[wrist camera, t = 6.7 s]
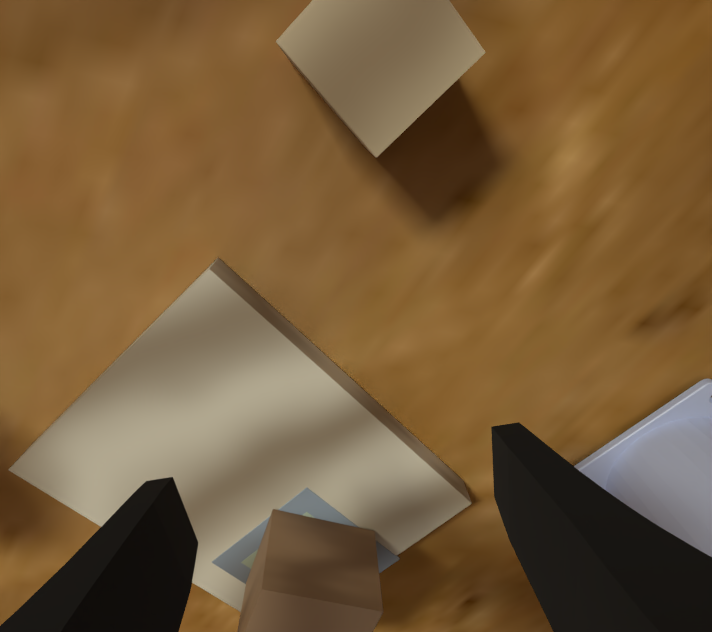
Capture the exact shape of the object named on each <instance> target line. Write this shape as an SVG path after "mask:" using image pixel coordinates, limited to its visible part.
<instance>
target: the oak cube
mask: <svg viewBox="0 0 712 632" xmlns="http://www.w3.org/2000/svg"><path fill="white" fill-rule="evenodd" d="M276 42H277V44H278V45H279V47H280V48H281V49H282V51H283V52H284V54H285V55H286V56H287V58H288V59H289V60H290V61H291V62H292V64H293V65H294V66H295V67H296V68H297V69H298V71H299V72H300V73H301V74H302V75H303V76H304V78H305V79H306V80H307V81H308V82H309V83H310V84H311V86H312V87H313V88H314V89H315V90H316V91H317V93H318V94H319V95H320V96H321V97H322V98H323V99H324V101H325V102H326V103H327V104H328V105H329V106H330V108H331V109H332V110H333V111H334V112H335V113H336V115H337V116H338V117H339V118H340V119H341V120H342V121H343V123H344V124H345V125H346V126H347V127H348V128H349V130H350V131H351V132H352V133H353V134H354V135H355V136H356V138H357V139H358V140H359V141H360V142H361V143H362V145H363V146H364V147H365V148H366V149H367V150H368V151H369V152H370V153H371V154H372V155H374V156H375V157H376V158H377V157H378V156H379V155H380V154H381V153H382V152H383V151H384V150H385V149H386V148H387V147H388V146H389V145H390V144H391V143H392V142H393V141H394V140H395V139H396V138H397V137H398V136H400V135H401V134H402V133H403V132H404V131H405V130H406V129H407V128H408V127H409V126H410V125H411V124H412V123H413V122H414V121H415V120H416V119H417V118H418V117H419V116H420V115H421V114H422V113H423V112H424V111H425V110H426V109H428V108H429V107H430V106H431V105H432V104H433V103H434V102H435V101H436V100H437V99H438V98H439V97H440V96H441V95H442V94H443V93H444V92H445V91H446V90H447V89H448V88H449V87H450V86H451V85H452V84H453V83H454V82H456V81H457V80H458V79H459V78H460V77H461V76H462V75H463V74H464V73H465V72H466V71H467V70H468V69H469V68H470V67H471V66H472V65H473V64H474V63H475V62H476V61H477V60H478V59H479V58H480V57H481V56H482V55H484V54H485V53H486V52H485V51H484V49H483V48H482V47H481V45H480V44H479V42H478V41H477V39H476V38H475V37H474V35H473V34H472V32H471V31H470V29H469V28H468V27H467V25H466V24H465V22H464V21H463V19H462V18H461V17H460V15H459V14H458V12H457V11H456V9H455V8H454V7H453V5H452V4H451V2H450V1H449V0H313V1H312V2H311V3H310V4H309V5H308V6H307V7H306V8H305V9H304V11H303V12H302V13H301V14H300V15H299V16H298V17H297V18H296V19H295V21H294V22H293V23H292V24H291V25H290V26H289V27H288V28H287V29H286V31H285V32H284V33H283V34H282V35H281V36H280V37H279V38H278V40H277V41H276Z"/></svg>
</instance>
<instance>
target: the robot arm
mask: <svg viewBox="0 0 712 632" xmlns="http://www.w3.org/2000/svg"><path fill="white" fill-rule="evenodd" d="M711 396H712V379H704V380H701V381H699V382H698V383H696V384H695V385H694V386H692V387H691V388H689V389H688V390H686V391H685V392H683V393H682V394H680V395H679V396H677V397H676V398H674V399H673V400H671V401H670V402H668V403H667V404H665V405H664V406H662V407H661V408H659V409H658V410H656V411H655V412H653V413H652V414H651V415H649V416H648V417H646V418H645V419H643V420H642V421H640V422H639V423H637V424H636V425H634V426H633V427H631V428H630V429H628V430H627V431H625V432H624V433H622V434H621V435H619V436H618V437H616V438H615V439H613V440H612V441H610V442H609V443H608V444H606V445H605V446H603V447H602V448H600V449H599V450H597V451H596V452H594V453H593V454H591V455H590V456H588V457H587V458H585V459H584V460H582V461H581V462H579V463H578V464H576V465H575V466H573V465H571V464H570V463H569V462H567V461H566V460H565V459H564V458H562V457H561V456H560V455H559V454H557V453H556V452H555V451H554V450H552V449H551V448H550V447H549V446H547V445H546V444H545V443H544V442H542V441H541V440H540V439H539V438H538V437H536V436H535V435H534V434H533V433H531V432H530V431H529V430H528V429H526V428H525V427H524V426H523V425H521V424H520V423H512V424H506V425H500V426H493V427H492V450H493V475H494V497H495V500H496V503H497V506H498V509H499V511H500V514H501V517H502V520H503V523H504V526H505V528H506V531H507V534H508V537H509V540H510V542H511V544H512V546H513V548H514V550H515V553H516V555H517V557H518V559H519V561H520V563H521V565H522V567H523V569H524V571H525V573H526V575H527V578H528V580H529V582H530V584H531V586H532V588H533V590H534V592H535V594H536V596H537V598H538V600H539V602H540V604H541V606H542V608H543V611H544V613H545V615H546V617H547V619H548V621H549V623H550V625H551V627H552V629H553V631H554V632H712V397H711ZM710 397H711V398H710ZM197 549H198V540H197V538H196V535H195V533H194V530H193V528H192V525H191V522H190V520H189V517H188V515H187V512H186V510H185V507H184V504H183V502H182V499H181V497H180V494H179V492H178V489H177V486H176V484H175V481H174V479H173V477H169V478H162V479H156V480H150V481H146V482H145V483H144V484H142V485H141V486H140V487H139V488H138V489H137V490H136V491H135V492H134V493H133V494H132V495H131V496H130V497H129V498H128V499H127V500H126V502H125V503H124V504H123V505H122V506H121V507H120V508H119V509H118V510H117V511H116V512H115V513H114V514H113V515H112V516H111V517H110V518H109V519H108V520H107V521H106V523H105V524H104V525H103V526H102V527H101V528H100V529H99V530H98V531H97V532H96V533H95V534H94V535H93V536H92V537H91V538H90V539H89V540H88V541H87V542H86V543H85V544H84V545H83V546H82V547H81V548H80V549H79V551H78V552H77V553H76V554H75V555H74V556H73V557H72V558H71V559H70V560H69V561H68V562H67V563H66V564H65V565H64V566H63V567H62V568H61V569H60V570H59V571H58V572H57V573H56V574H55V575H53V576H52V577H51V578H50V579H49V580H48V581H47V582H46V583H45V584H44V585H43V586H42V587H41V588H40V589H39V590H38V591H37V592H36V593H35V594H34V595H33V596H32V597H31V598H30V599H29V600H28V601H27V602H26V603H25V604H24V605H23V606H22V607H20V608H19V609H18V610H17V611H16V612H15V613H14V614H13V615H12V616H11V617H10V618H9V619H7V620H6V621H5V622H4V623H3V624H2V625H1V626H0V632H178V631H179V628H180V624H181V621H182V618H183V614H184V611H185V607H186V604H187V600H188V597H189V593H190V589H191V584H192V579H193V573H194V568H195V562H196V555H197Z"/></svg>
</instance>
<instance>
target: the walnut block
mask: <svg viewBox="0 0 712 632" xmlns="http://www.w3.org/2000/svg"><path fill="white" fill-rule="evenodd" d="M382 614H383V604H382V594H381V585H380V576H379V567H378V558H377V549H376V540H375V531H372V530H367V529H363V528H358V527H353V526H349V525H344V524H340V523H335V522H330V521H326V520H321V519H317V518H312V517H307V516H303V515H298V514H294V513H289V512H284V511H280V510H275V509H273V510H272V513H271V515H270V518H269V521H268V524H267V526H266V529H265V532H264V535H263V538H262V540H261V543H260V546H259V549H258V551H257V554H256V557H255V560H254V562H253V565H252V568H251V571H250V573H249V576H248V579H247V582H246V586H245V592H244V598H243V603H242V609H241V615H240V620H239V626H238V631H237V632H373V630H374V629H375V627H376V625H377V623H378V621H379V619H380V617H381V615H382Z"/></svg>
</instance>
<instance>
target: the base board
mask: <svg viewBox="0 0 712 632" xmlns="http://www.w3.org/2000/svg"><path fill="white" fill-rule="evenodd" d="M9 471H11V472H12V473H14V474H16V475H17V476H19V477H20V478H22V479H24V480H25V481H27V482H29V483H30V484H32V485H34V486H35V487H37V488H38V489H40V490H42V491H43V492H45V493H47V494H48V495H50V496H52V497H53V498H55V499H56V500H58V501H60V502H61V503H63V504H65V505H66V506H68V507H70V508H71V509H73V510H74V511H76V512H78V513H79V514H81V515H83V516H84V517H86V518H88V519H89V520H91V521H93V522H94V523H96V524H97V525H99V526H101V527H102V526H103V525H104V524H105V523H106V521H107V520H108V519H109V518H110V517H111V516H112V515H113V514H114V513H115V512H116V511H117V510H118V509H119V508H120V507H121V506H122V505H123V504H124V503H125V502H126V500H127V499H128V498H129V497H130V496H131V495H132V494H133V493H134V492H135V491H136V490H137V489H138V488H139V487H140V486H141V485H142V484H144V483H145V482H146V481H150V480H156V479H162V478H169V477H173V479H174V481H175V484H176V486H177V489H178V492H179V494H180V497H181V499H182V502H183V504H184V507H185V510H186V512H187V515H188V517H189V520H190V522H191V525H192V528H193V530H194V533H195V535H196V538H197V540H198V549H197V555H196V562H195V568H194V573H193V579H192V583H194V584H196V585H197V586H199V587H201V588H202V589H204V590H206V591H207V592H209V593H210V594H212V595H214V596H215V597H217V598H219V599H220V600H222V601H224V602H225V603H227V604H228V605H230V606H232V607H233V608H235V609H237V610H238V611H240V612H241V609H242V603H243V598H244V592H245V586H246V582H247V579H248V576H249V573H250V571H251V568H252V565H253V562H254V560H255V557H256V554H257V551H258V549H259V546H260V543H261V540H262V538H263V535H264V532H265V529H266V526H267V524H268V521H269V518H270V515H271V513H272V510H273V509H275V510H280V511H284V512H289V513H294V514H298V515H303V516H307V517H312V518H317V519H321V520H326V521H330V522H335V523H340V524H344V525H349V526H353V527H358V528H363V529H367V530H372V531H375V540H376V549H377V558H378V567H379V573H381V572H382V571H383V570H385V569H386V568H388V567H389V566H391V565H392V564H394V563H395V562H397V561H398V560H399V559H400V558H399V557H398V556H397V555H398V554H400V553H401V552H403V551H404V550H406V549H407V548H408V547H410V546H411V545H413V544H414V543H416V542H417V541H419V540H420V539H421V538H423V537H424V536H426V535H427V534H429V533H430V532H432V531H433V530H434V529H436V528H437V527H439V526H440V525H442V524H443V523H444V522H446V521H447V520H449V519H450V518H452V517H453V516H455V515H456V514H457V513H459V512H460V511H462V510H463V509H465V508H466V507H468V506H469V505H470V504H472V502H471V500H470V497H469V494H468V492H467V489H466V486H465V483H464V481H463V480H462V479H461V478H460V477H459V476H458V475H456V474H455V473H454V472H453V471H452V470H451V469H450V468H449V467H448V466H447V465H446V464H444V463H443V462H442V461H441V460H440V459H439V458H438V457H437V456H436V455H435V454H433V453H432V452H431V451H430V450H429V449H428V448H427V447H426V446H425V445H424V444H422V443H421V442H420V441H419V440H418V439H417V438H416V437H415V436H414V435H413V434H411V433H410V432H409V431H408V430H407V429H406V428H405V427H404V426H403V425H402V424H400V423H399V422H398V421H397V420H396V419H395V418H394V417H393V416H392V415H391V414H390V413H388V412H387V411H386V410H385V409H384V408H383V407H382V406H381V405H380V404H379V403H377V402H376V401H375V400H374V399H373V398H372V397H371V396H370V395H369V394H368V393H366V392H365V391H364V390H363V389H362V388H361V387H360V386H359V385H358V384H357V383H355V382H354V381H353V380H352V379H351V378H350V377H349V376H348V375H347V374H346V373H344V372H343V371H342V370H341V369H340V368H339V367H338V366H337V365H336V364H335V363H334V362H332V361H331V360H330V359H329V358H328V357H327V356H326V355H325V354H324V353H323V352H321V351H320V350H319V349H318V348H317V347H316V346H315V345H314V344H313V343H312V342H310V341H309V340H308V339H307V338H306V337H305V336H304V335H303V334H302V333H301V332H299V331H298V330H297V329H296V328H295V327H294V326H293V325H292V324H291V323H290V322H288V321H287V320H286V319H285V318H284V317H283V316H282V315H281V314H280V313H279V312H277V311H276V310H275V309H274V308H273V307H272V306H271V305H270V304H269V303H268V302H267V301H265V300H264V299H263V298H262V297H261V296H260V295H259V294H258V293H257V292H256V291H254V290H253V289H252V288H251V287H250V286H249V285H248V284H247V283H246V282H245V281H243V280H242V279H241V278H240V277H239V276H238V275H237V274H236V273H235V272H234V271H232V270H231V269H230V268H229V267H228V266H227V265H226V264H225V263H224V262H223V261H221V260H220V259H219V258H217V259H216V260H215V261H214V262H213V263H212V264H211V265H210V266H209V267H208V268H207V269H206V270H205V271H204V272H203V273H202V274H201V275H200V276H199V277H198V278H197V279H196V280H195V281H194V282H193V283H192V284H191V285H190V286H189V287H188V288H187V289H186V290H185V291H184V292H183V293H182V294H181V295H180V296H179V297H178V298H177V299H176V300H175V301H174V302H173V303H172V304H171V305H170V306H169V307H168V308H167V309H166V310H165V311H164V312H163V313H162V314H161V315H160V316H159V317H158V318H157V319H156V320H155V321H154V322H153V323H152V324H151V325H150V326H149V327H148V328H147V329H146V330H145V331H144V332H143V333H142V334H141V335H140V336H139V337H138V338H137V339H136V340H135V341H134V342H133V343H132V344H131V345H130V346H129V347H128V348H127V349H126V350H125V351H124V352H123V353H122V354H121V355H120V356H119V357H118V358H117V359H116V360H115V361H114V362H113V363H112V364H111V365H110V366H109V367H108V368H107V369H106V370H105V371H104V372H103V373H102V374H101V375H100V376H99V377H98V378H97V379H96V380H95V381H94V382H93V383H92V384H91V385H90V386H89V387H88V388H87V389H86V390H85V391H84V392H83V393H82V394H81V395H80V396H79V397H78V398H77V399H76V401H75V402H74V403H73V404H72V405H71V406H70V407H69V408H68V409H67V410H66V411H65V412H64V413H63V414H62V415H61V416H60V417H59V418H58V419H57V420H56V421H55V422H54V423H53V424H52V425H51V426H50V427H49V428H48V429H47V430H46V431H45V432H44V433H43V434H42V435H41V436H40V437H39V438H38V439H37V440H36V441H35V442H34V443H33V444H32V445H31V446H30V447H29V448H28V449H27V450H26V451H25V452H24V453H23V454H22V455H21V456H20V458H19V459H18V460H17V461H16V462H15V463H14V464H13V465H12V466H11V467H10V469H9Z"/></svg>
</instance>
